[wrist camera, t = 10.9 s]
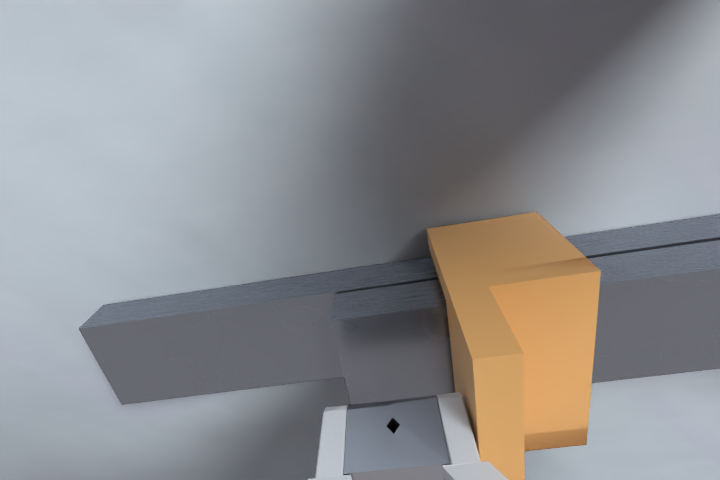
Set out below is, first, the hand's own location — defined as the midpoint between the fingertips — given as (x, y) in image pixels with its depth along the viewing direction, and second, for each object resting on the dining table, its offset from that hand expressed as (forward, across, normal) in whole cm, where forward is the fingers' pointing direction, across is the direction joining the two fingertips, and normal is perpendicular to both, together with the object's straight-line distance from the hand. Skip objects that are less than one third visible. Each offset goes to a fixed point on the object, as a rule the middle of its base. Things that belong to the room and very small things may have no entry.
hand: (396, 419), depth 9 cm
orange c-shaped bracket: (+4, -3, 0) cm, 5 cm away
